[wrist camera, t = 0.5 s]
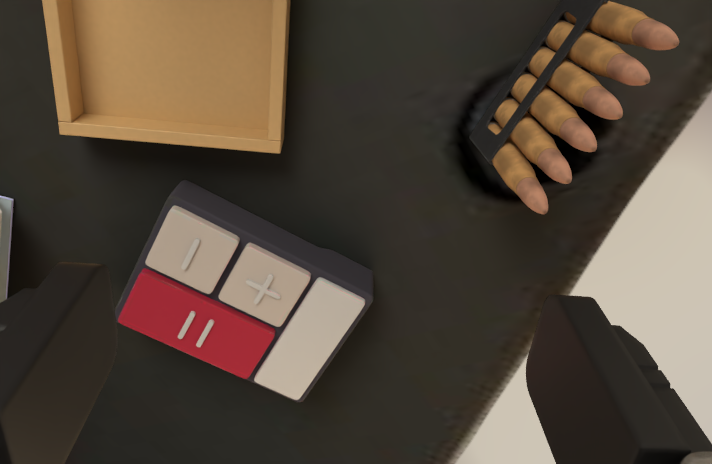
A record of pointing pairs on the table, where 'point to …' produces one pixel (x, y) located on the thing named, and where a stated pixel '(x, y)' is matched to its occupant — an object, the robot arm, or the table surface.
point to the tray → (171, 70)
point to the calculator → (243, 293)
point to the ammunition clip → (564, 91)
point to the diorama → (5, 243)
